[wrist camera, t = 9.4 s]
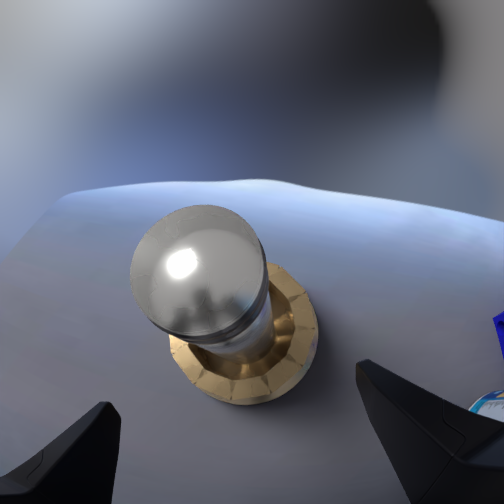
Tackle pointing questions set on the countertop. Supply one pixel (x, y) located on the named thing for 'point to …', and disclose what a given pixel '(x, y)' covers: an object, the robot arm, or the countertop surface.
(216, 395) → the ring collar
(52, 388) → the countertop surface
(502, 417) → the beverage bottle
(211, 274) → the cylinder
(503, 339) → the blue curved cradle
